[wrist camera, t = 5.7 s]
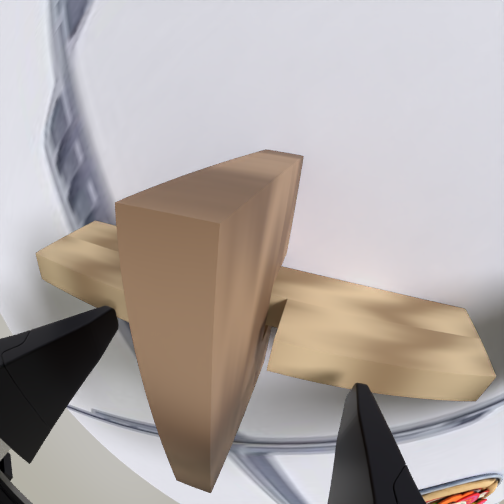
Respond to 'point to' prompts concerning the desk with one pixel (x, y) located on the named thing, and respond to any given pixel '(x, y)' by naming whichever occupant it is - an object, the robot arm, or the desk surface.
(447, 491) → the toy pizza
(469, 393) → the oak board
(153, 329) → the brown tapered flat block
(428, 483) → the desk surface
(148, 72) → the desk surface
